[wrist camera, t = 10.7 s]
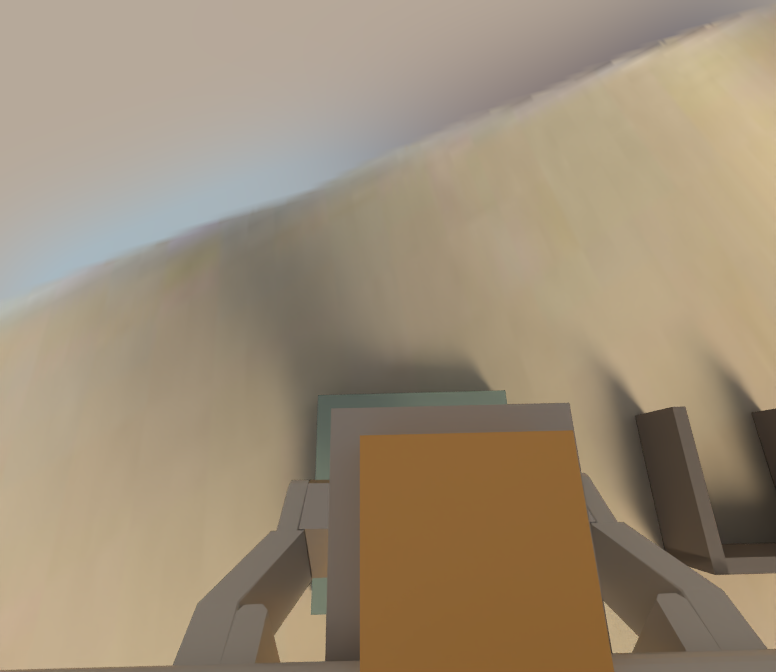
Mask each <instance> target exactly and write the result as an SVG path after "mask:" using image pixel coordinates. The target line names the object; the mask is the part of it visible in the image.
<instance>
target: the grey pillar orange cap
mask: <svg viewBox="0 0 776 672" xmlns="http://www.w3.org/2000/svg"><path fill="white" fill-rule="evenodd" d="M611 653H612V649H611V643H610V637H609V631H608V625H607V619H606V614H605V608H604V602H603V596H602V590H601V585H600V579H599V573H598V567H597V561H596V555H595V550H594V544H593V538H592V532H591V526H590V520H589V515H588V509H587V503H586V497H585V491H584V485H583V480H582V474H581V468H580V462H579V456H578V450H577V445H576V439H575V433H574V427H573V421H572V416H571V410H570V404H569V403H543V404H501V405H458V406H416V407H374V408H331V438H330V482H329V525H328V569H327V612H326V656H325V661H359V660H360V672H614V667H613V661H612V655H611Z"/></svg>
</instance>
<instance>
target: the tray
mask: <svg viewBox="0 0 776 672" xmlns="http://www.w3.org/2000/svg"><path fill="white" fill-rule="evenodd" d="M501 404H507V400H506V392H505V390H503V391H464V392H425V393H386V394H347V395H318V413H317V444H316V475H315V480H330V438H331V408H374V407H416V406H458V405H501ZM326 612H327V578H312V599H311V615H318V614H326Z"/></svg>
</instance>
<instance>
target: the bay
mask: <svg viewBox="0 0 776 672" xmlns="http://www.w3.org/2000/svg"><path fill="white" fill-rule="evenodd" d="M752 415H753V418H754V421H755V425H756V428H757V431H758V434H759V437H760V440H761V444H762V447H763V450H764V453H765V456H766V459H767V463H768V466H769V469H770V472H771V475H772V478H773V482H774V485H775V488H776V409H771V410H765V411H759V412H753V413H752ZM635 417H636V422H637V426H638V431H639V435H640V440H641V444H642V449H643V453H644V458H645V462H646V467H647V471H648V476H649V480H650V485H651V489H652V494H653V498H654V503H655V507H656V512H657V516H658V521H659V525H660V530H661V534H662V539H663V543H664V548H665V551H666V552H668V553H669V554H671V555H672V556H673V557H675V558H676V559H678V560H679V561H681V562H682V563H684V564H685V565H687V566H689V567H692V568H695V569H698V570H701V571H704V572H708V573H711V574H714V575H726V574H764V573H776V543H753V544H721V540H720V537H719V533H718V529H717V525H716V521H715V518H714V514H713V510H712V506H711V502H710V499H709V495H708V491H707V487H706V484H705V480H704V476H703V472H702V468H701V465H700V461H699V457H698V453H697V449H696V446H695V442H694V438H693V434H692V430H691V427H690V423H689V419H688V415H687V411H686V408H685V407H670V408H666V409H662V410H657V411H653V412H649V413H644V414H640V415H636V416H635Z"/></svg>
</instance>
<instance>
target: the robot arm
mask: <svg viewBox="0 0 776 672" xmlns="http://www.w3.org/2000/svg"><path fill="white" fill-rule="evenodd" d="M581 474H582V480H583V485H584V491H585V497H586V503H587V509H588V515H589V520H590V526H591V532H592V538H593V544H594V550H595V555H596V561H597V567H598V573H599V579H600V585H601V590H602V596H603V601H604V602H605V603H606V604H607V605H608V606H609V607H610V608H611V609H612V610H613V611H614V612H615V613H616V614H617V615H618V616H619V617H620V618H621V619H622V620H623V621H624V622H625V623H626V624H627V625H628V626H629V627H630V628H631V629H632V630H633V631H634V632H635V633H636V634H637V635H638V636H639V638H638V640H637V643H636V645H635V647H634V649H633V652H632V653H611V655H612V661H613V667H614V672H776V649H767V647H766V646H765V645H764V644H763V642H762V641H761V640H760V638H759V637H758V636H757V634H756V633H755V632H754V630H753V629H752V628H751V626H750V625H749V624H748V622H747V621H746V620H745V619H744V617H743V616H742V615H741V613H740V612H739V611H738V609H737V608H736V607H735V605H734V604H733V603H732V601H731V600H730V599H729V597H728V596H727V595H726V594H725V592H724V591H723V590H722V589H720V588H719V587H717V586H716V585H714V584H713V583H711V582H710V581H708V580H707V579H706V578H704V577H703V576H701V575H700V574H698V573H697V572H695V571H694V570H692V569H691V568H689V567H688V566H687V565H685V564H684V563H682V562H681V561H679V560H678V559H676V558H675V557H673V556H672V555H671V554H669V553H668V552H666V551H665V550H663V549H662V548H660V547H659V546H657V545H656V544H654V543H653V542H652V541H650V540H649V539H647V538H646V537H644V536H643V535H641V534H640V533H638V532H637V531H635V530H634V529H633V528H631V527H630V526H628V525H627V524H625V523H624V522H617V520H616V519H615V517H614V516H613V514H612V512H611V511H610V509H609V508H608V506H607V505H606V503H605V501H604V500H603V498H602V497H601V495H600V493H599V492H598V490H597V489H596V487H595V486H594V484H593V482H592V481H591V479H590V478H589V476H588V475H587V474H585V473H581ZM329 482H330V480H292V481H291V482H290V484H289V487H288V490H287V494H286V498H285V501H284V505H283V509H282V512H281V516H280V520H279V523H278V527H277V531H271V532H270V533H269V534H268V535H267V536H266V537H265V538H263V539H262V540H261V541H260V542H259V543H258V544H257V545H256V546H255V547H254V548H253V549H252V550H251V551H250V552H249V553H248V554H247V555H246V556H245V557H244V558H243V559H242V560H241V561H240V562H239V563H238V564H237V565H236V566H235V567H234V568H233V569H232V570H231V571H230V572H229V573H228V574H227V575H226V576H225V577H224V578H223V579H222V580H221V581H220V582H219V583H218V584H217V585H216V586H215V587H214V588H213V589H212V590H211V591H210V592H209V593H208V594H207V595H206V596H205V597H204V598H203V599H202V600H201V601H200V602H199V603H198V604H197V606H196V609H195V611H194V614H193V616H192V619H191V621H190V624H189V626H188V629H187V631H186V634H185V636H184V639H183V641H182V643H181V646H180V648H179V651H178V653H177V656H176V658H175V661H174V663H173V666H136V667H98V668H60V669H23V670H0V672H360V660H359V661H323V662H286V663H280V659H279V655H278V651H277V647H276V643H275V639H274V635H275V633H276V632H277V630H278V629H279V627H280V626H281V625H282V623H283V622H284V620H285V619H286V617H287V616H288V614H289V613H290V612H291V610H292V609H293V607H294V606H295V604H296V603H297V601H298V600H299V598H300V597H301V596H302V594H303V593H304V591H305V590H306V588H307V587H308V585H309V584H310V583H311V581H312V579H311V578H327V569H328V525H329Z"/></svg>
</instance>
